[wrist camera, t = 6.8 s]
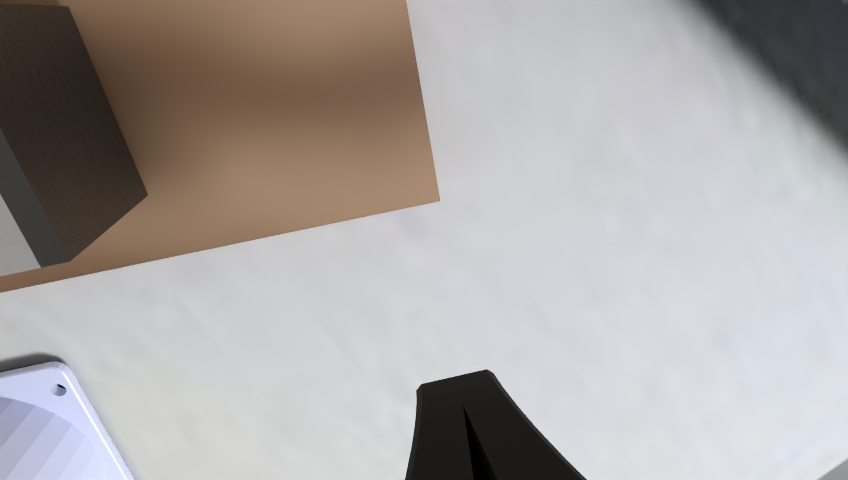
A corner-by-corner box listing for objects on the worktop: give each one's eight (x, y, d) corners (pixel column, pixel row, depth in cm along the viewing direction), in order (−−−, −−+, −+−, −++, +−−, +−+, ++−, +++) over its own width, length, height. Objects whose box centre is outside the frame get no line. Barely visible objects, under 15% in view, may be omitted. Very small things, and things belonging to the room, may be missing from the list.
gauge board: (433, 186, 17) (469, 262, 12) (-103, 297, 17) (-325, 432, 11) (377, -135, 14) (392, -239, 8) (-320, -10, 13) (-815, -32, 7)
